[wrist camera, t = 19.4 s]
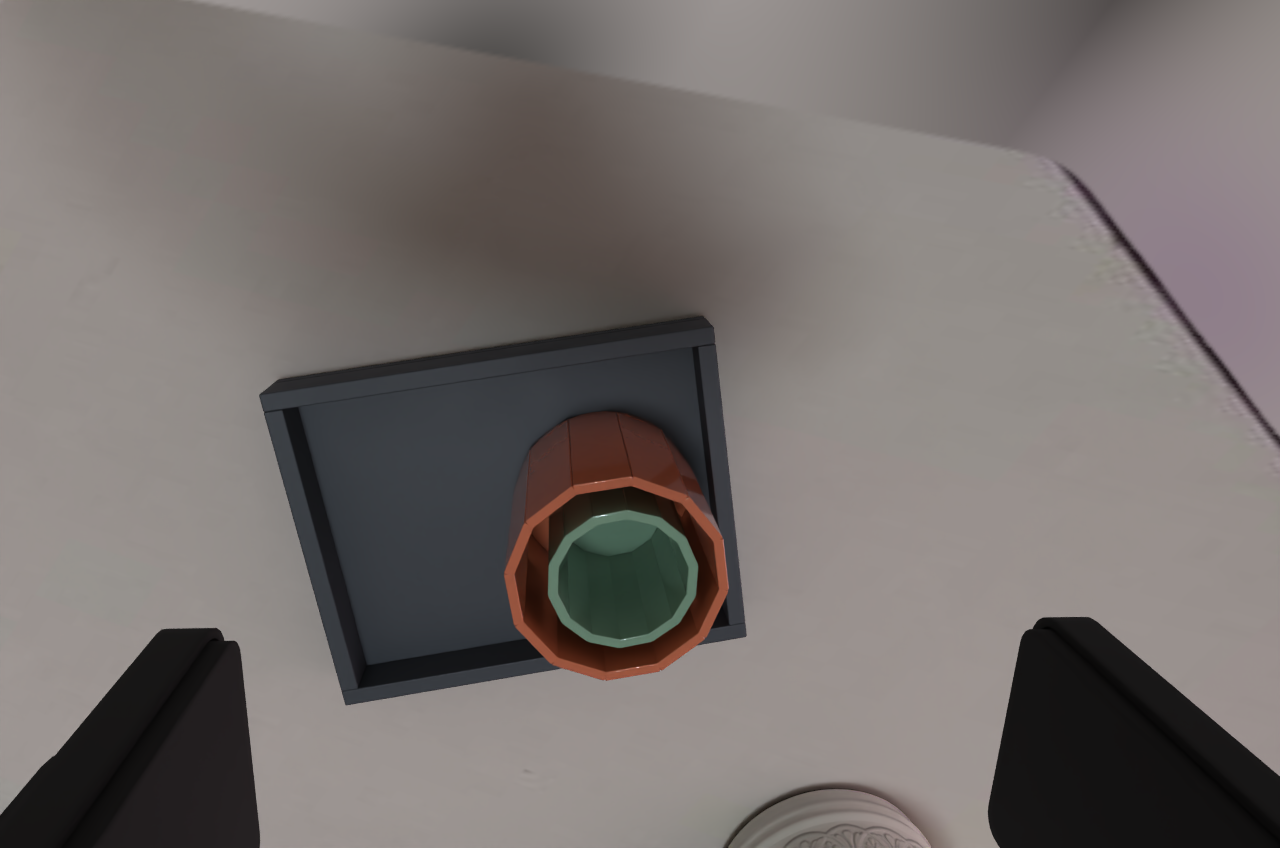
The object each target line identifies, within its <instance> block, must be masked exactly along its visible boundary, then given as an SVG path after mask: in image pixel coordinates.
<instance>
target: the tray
mask: <svg viewBox="0 0 1280 848" xmlns="http://www.w3.org/2000/svg"><path fill="white" fill-rule="evenodd" d="M259 397H260V400H261V404H262V408H263V411H264V415H265V419H266V422H267V426H268V429H269V433H270V436H271V440H272V444H273V447H274V451H275V454H276V458H277V461H278V465H279V469H280V472H281V476H282V479H283V483H284V487H285V490H286V494H287V497H288V501H289V504H290V508H291V512H292V515H293V519H294V522H295V526H296V529H297V533H298V537H299V540H300V544H301V547H302V551H303V555H304V558H305V562H306V565H307V569H308V572H309V576H310V580H311V583H312V587H313V590H314V594H315V597H316V601H317V605H318V608H319V612H320V615H321V619H322V623H323V626H324V630H325V633H326V637H327V640H328V644H329V648H330V651H331V655H332V658H333V662H334V665H335V669H336V673H337V676H338V680H339V683H340V687H341V690H342V694H343V698H344V701H345V705H351V704H357V703H363V702H368V701H374V700H380V699H386V698H392V697H398V696H403V695H409V694H415V693H421V692H427V691H433V690H439V689H444V688H450V687H456V686H462V685H468V684H474V683H479V682H485V681H491V680H497V679H503V678H509V677H514V676H520V675H526V674H532V673H538V672H544V671H550V670H555V669H561V668H560V667H557V666H554V665H552V664H550V663H549V662H548V661H547V660H546V659H545V658H544V656H543V655H542V654H541V653H540V652H539V651H538V650H537V649H536V648H535V647H534V646H533V645H532V644H531V643H530V642H529V641H528V640H527V639H526V638H525V637H524V636H523V635H522V634H521V633H520V632H519V631H518V630H517V629H516V627H515V625H514V624H513V619H512V614H511V609H510V604H509V599H508V594H507V589H506V584H505V579H504V569H505V560H506V552H507V543H508V534H509V526H510V517H511V508H512V500H513V491H514V488H515V486H516V483H517V481H518V477H519V474H520V471H521V467H522V465H523V463H524V461H525V459H526V457H527V455H528V453H529V450H531V448H532V447H533V446H534V445H535V444H536V443H537V441H538V440H539V439H540V438H541V437H542V436H543V435H545V434H546V433H547V432H548V431H549V430H551V429H552V428H554V427H555V426H556V425H558V424H560V423H562V422H564V421H566V420H568V419H570V418H573V417H576V416H578V415H582V414H586V413H591V412H601V411H611V412H620V413H626V414H630V415H633V416H637V417H639V418H642V419H644V420H646V421H648V422H650V423H651V424H653V425H655V426H656V427H658V428H660V429H661V430H663V431H664V433H665V434H667V436H668V437H669V438H670V439H671V440H672V441H673V442H674V443H675V445H676V446H677V448H678V449H679V450H680V452H681V454H682V455H683V456H684V457H685V459H686V460H687V461H688V462H689V464H690V466H691V469H692V471H693V473H694V475H695V477H696V480H697V482H698V484H699V486H700V488H701V491H702V493H703V495H704V497H705V499H706V502H707V504H708V506H709V508H710V511H711V513H712V515H713V517H714V519H715V522H716V524H717V526H718V528H719V530H720V533H721V535H722V537H723V539H724V548H725V557H726V566H727V576H728V585H729V589H728V593H727V595H726V597H725V600H724V602H723V604H722V606H721V608H720V610H719V612H718V614H717V616H716V618H715V620H714V623H713V625H712V627H711V629H710V631H709V633H708V635H707V637H706V638H705V639H704V640H703V641H702V642H700V643H699V644H698V645H701V644H707V643H713V642H719V641H725V640H731V639H736V638H742V637H746V636H747V635H746V625H745V616H744V606H743V597H742V588H741V578H740V569H739V560H738V550H737V541H736V532H735V522H734V513H733V504H732V494H731V485H730V475H729V466H728V457H727V447H726V438H725V429H724V419H723V410H722V401H721V391H720V382H719V373H718V363H717V354H716V345H715V336H714V327H713V326H712V325H711V324H710V323H709V322H708V321H707V320H706V319H705V318H704V317H703V316H701V317H694V318H688V319H681V320H674V321H668V322H661V323H654V324H648V325H641V326H634V327H628V328H621V329H614V330H608V331H601V332H594V333H588V334H581V335H574V336H568V337H561V338H554V339H548V340H541V341H534V342H528V343H521V344H514V345H508V346H501V347H494V348H488V349H481V350H474V351H468V352H461V353H454V354H448V355H441V356H434V357H428V358H421V359H414V360H408V361H401V362H394V363H387V364H381V365H374V366H367V367H361V368H354V369H347V370H341V371H334V372H327V373H321V374H314V375H307V376H301V377H294V378H287V379H281V380H277V381H276V382H275V383H274V384H272V385H271V386H270V387H268V388H267V389H266V390H265V391H263V392H262V393H261V394H260V395H259Z"/></svg>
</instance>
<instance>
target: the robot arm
mask: <svg viewBox="0 0 1280 848" xmlns="http://www.w3.org/2000/svg"><path fill="white" fill-rule="evenodd" d="M988 819H989V824H990V829H991V832H992V835H993V837H994V839H995V841H996V842H997V844H998V846H999V847H1000V848H1280V776H1279V775H1277V774H1276V773H1275V772H1274V771H1273V770H1271V769H1270V768H1269V767H1268V766H1267V765H1266V764H1264V763H1263V762H1262V761H1261V760H1260V759H1258V758H1257V757H1256V756H1255V755H1254V754H1253V753H1251V752H1250V751H1249V750H1248V749H1247V748H1245V747H1244V746H1243V745H1242V744H1241V743H1240V742H1238V741H1237V740H1236V739H1235V738H1234V737H1232V736H1231V735H1230V734H1229V733H1228V732H1227V731H1225V730H1224V729H1223V728H1222V727H1221V726H1219V725H1218V724H1217V723H1216V722H1215V721H1214V720H1212V719H1211V718H1210V717H1209V716H1208V715H1206V714H1205V713H1204V712H1203V711H1202V710H1201V709H1199V708H1198V707H1197V706H1196V705H1195V704H1193V703H1192V702H1191V701H1190V700H1189V699H1188V698H1186V697H1185V696H1184V695H1183V694H1182V693H1180V692H1179V691H1178V690H1177V689H1176V688H1175V687H1173V686H1172V685H1171V684H1170V683H1169V682H1167V681H1166V680H1165V679H1164V678H1163V677H1162V676H1160V675H1159V674H1158V673H1157V672H1156V671H1154V670H1153V669H1152V668H1151V667H1150V666H1149V665H1147V664H1146V663H1145V662H1144V661H1143V660H1141V659H1140V658H1139V657H1138V656H1137V655H1136V654H1134V653H1133V652H1132V651H1131V650H1130V649H1128V648H1127V647H1126V646H1125V645H1124V644H1123V643H1121V642H1120V641H1119V640H1118V639H1117V638H1115V637H1114V636H1113V635H1112V634H1111V633H1110V632H1108V631H1107V630H1106V629H1105V628H1104V627H1102V626H1101V625H1100V624H1099V623H1098V622H1097V621H1095V620H1093V619H1091V618H1089V617H1047V618H1042V619H1040V620H1038V621H1037V622H1036V624H1035V625H1034V627H1033V629H1029V630H1027V631H1026V632H1025V633H1024V634H1023V636H1022V639H1021V642H1020V647H1019V652H1018V657H1017V662H1016V667H1015V672H1014V677H1013V682H1012V688H1011V693H1010V698H1009V703H1008V708H1007V713H1006V718H1005V724H1004V729H1003V734H1002V739H1001V744H1000V749H999V754H998V759H997V765H996V770H995V775H994V780H993V785H992V790H991V795H990V800H989V806H988ZM259 847H260V831H259V821H258V812H257V803H256V793H255V784H254V774H253V765H252V755H251V746H250V737H249V727H248V718H247V708H246V699H245V689H244V680H243V671H242V661H241V653H240V648H239V646H238V643H237V642H235V641H224V637H223V635H222V633H221V631H220V630H219V629H217V628H189V629H162V630H161V631H160V632H158V633H157V634H156V635H155V636H154V638H153V639H152V640H151V641H150V642H149V644H148V645H147V646H146V647H145V648H144V650H143V651H142V652H141V653H140V654H139V656H138V657H137V658H136V659H135V660H134V662H133V663H132V664H131V665H130V666H129V668H128V669H127V670H126V671H125V672H124V674H123V675H122V676H121V677H120V678H119V680H118V681H117V682H116V683H115V684H114V686H113V687H112V688H111V689H110V690H109V692H108V693H107V694H106V695H105V696H104V698H103V699H102V700H101V701H100V702H99V704H98V705H97V706H96V707H95V708H94V710H93V711H92V712H91V713H90V714H89V716H88V717H87V718H86V719H85V720H84V722H83V723H82V724H81V725H80V726H79V728H78V729H77V730H76V731H75V732H74V734H73V735H72V736H71V737H70V738H69V740H68V741H67V742H66V743H65V744H64V746H63V747H62V748H61V749H60V750H59V751H58V753H57V754H56V755H55V756H53V757H52V758H51V759H49V760H48V761H47V762H46V763H45V764H44V765H43V766H42V767H41V768H40V769H39V770H38V771H37V772H36V774H35V775H34V776H33V777H32V778H31V780H30V781H29V782H28V783H27V784H26V786H25V787H24V788H23V789H22V790H21V791H20V793H19V794H18V795H17V796H16V797H15V799H14V800H13V801H12V802H11V803H10V805H9V806H8V807H7V808H6V809H5V810H4V812H3V813H2V814H1V815H0V848H259Z"/></svg>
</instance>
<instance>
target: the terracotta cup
mask: <svg viewBox="0 0 1280 848" xmlns="http://www.w3.org/2000/svg"><path fill="white" fill-rule="evenodd" d="M628 486H633V487H636V488H639V489H641V490H644V491H647V492H650V493H653V494H656V495H658V496H661V497H664V498H667V499H670V500H673V501H675V502H676V505H677V507H678V510H679V513H680V516H681V519H682V521H683V524H684V527H685V530H686V532H687V535H688V538H689V541H690V543H691V546H692V549H693V552H694V554H695V557H696V560H697V563H698V578H697V591H696V597H695V599H694V600H693V602H692V603H691V605H690V607H689V608H688V610H687V612H686V613H685V615H684V617H683V618H682V620H681V621H680V623H679V624H678V625H676V626H675V627H673V628H672V629H670V630H669V631H667V632H666V633H664V634H663V635H661V636H660V637H659V638H657V639H656V640H654V641H652V642H648V643H643V644H639V645H634V646H629V647H624V648H616V647H610V646H605V645H600V644H595V643H590V642H588V641H586V640H584V639H583V638H581V637H580V636H579V635H577V634H576V633H575V632H573V631H572V630H570V629H569V628H568V627H566V626H565V625H563V624H562V623H561V621H560V619H559V617H558V615H557V613H556V611H555V609H554V607H553V605H552V603H551V601H550V599H549V597H548V516H549V515H551V514H552V513H553V512H555V511H556V510H557V509H559V508H560V507H561V506H562V505H564V504H565V503H566V502H568V501H569V500H570V499H572V498H573V497H574V496H576V495H578V494H584V493H590V492H596V491H603V490H609V489H615V488H622V487H628ZM504 579H505V584H506V589H507V594H508V599H509V604H510V609H511V614H512V619H513V624H514V625H515V627H516V629H517V630H518V631H519V632H520V633H521V634H522V635H523V636H524V637H525V638H526V639H527V640H528V641H529V642H530V643H531V644H532V645H533V646H534V647H535V648H536V649H537V650H538V651H539V652H540V653H541V654H542V655H543V656H544V658H545V659H546V660H547V661H548V662H549V663H550V664H552V665H554V666H557V667H560V668H564V669H567V670H570V671H574V672H577V673H580V674H584V675H587V676H590V677H594V678H597V679H600V680H606V681H607V680H613V679H619V678H624V677H630V676H636V675H642V674H648V673H654V672H659V671H660V670H663V669H665V668H666V667H667V666H669V665H670V664H671V663H673V662H674V661H676V660H677V659H678V658H680V657H681V656H683V655H684V654H685V653H687V652H688V651H689V650H691V649H692V648H694V647H695V646H696V645H698V644H699V643H700V642H702V641H703V640H704V639H705V638H706V637H707V635H708V633H709V631H710V629H711V627H712V625H713V623H714V620H715V618H716V616H717V614H718V612H719V610H720V608H721V606H722V604H723V602H724V600H725V597H726V595H727V593H728V589H729V585H728V576H727V566H726V557H725V548H724V539H723V537H722V535H721V533H720V530H719V528H718V526H717V524H716V522H715V519H714V517H713V515H712V513H711V511H710V508H709V506H708V504H707V502H706V499H705V497H704V495H703V493H702V491H701V488H700V486H699V484H698V482H697V480H696V477H695V475H694V473H693V471H692V469H691V466H690V464H689V462H688V461H687V460H686V459H685V457H684V456H683V455H682V454H681V452H680V450H679V449H678V448H677V446H676V445H675V443H674V442H673V441H672V440H671V439H670V438H669V437H668V436H667V434H665V433H664V431H663V430H661V429H660V428H658V427H656V426H655V425H653V424H651V423H650V422H648V421H646V420H644V419H642V418H639V417H637V416H633V415H630V414H626V413H620V412H611V411H601V412H591V413H586V414H582V415H578V416H576V417H573V418H570V419H568V420H566V421H564V422H562V423H560V424H558V425H556V426H555V427H554V428H552V429H551V430H549V431H548V432H547V433H546V434H545V435H543V436H542V437H541V438H540V439H539V440H538V441H537V443H536V444H535V445H534V446H533V447H532V448H531V450H529V453H528V455H527V457H526V459H525V461H524V463H523V465H522V467H521V471H520V474H519V477H518V481H517V483H516V486H515V488H514V491H513V500H512V508H511V517H510V526H509V534H508V543H507V552H506V560H505V569H504Z"/></svg>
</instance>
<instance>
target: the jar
mask: <svg viewBox="0 0 1280 848" xmlns="http://www.w3.org/2000/svg"><path fill="white" fill-rule="evenodd" d="M728 848H931V846H930V844H929V842H928V841H927V839H926V838H925V836H924V835H923V834H922V833H921V831H920V830H919V829H918V828H917V827H916V826H915V825H914V824H913V823H912V822H911V821H910V820H909V819H908V817H907V816H906V815H905V814H904V813H903V812H902V811H901V810H899V809H898V808H897V807H895V806H894V805H893V804H891V803H889V802H888V801H886V800H884V799H882V798H879V797H877V796H874V795H872V794H868V793H865V792H860V791H855V790H846V789H828V790H819V791H813V792H808V793H804V794H800V795H797V796H794V797H791V798H788V799H786V800H784V801H781V802H779V803H777V804H775V805H773V806H772V807H770V808H768V809H766V810H765V811H763V812H762V813H760V814H759V815H758V816H756V817H755V818H754V819H752V820H751V821H750V822H749V823H748V824H747V825H746V826H745V827H744V828H743V829H742V830H741V831H740V832H739V833H738V834H737V836H736V837H735V838H734V839H733V841H732V842H731V844H730V845H729V847H728Z"/></svg>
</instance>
